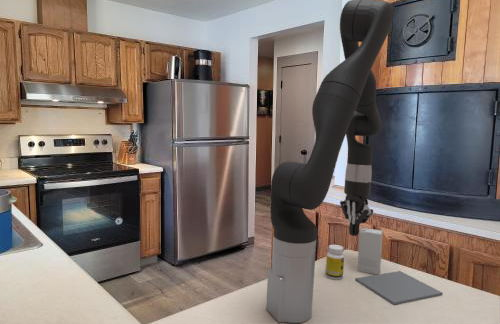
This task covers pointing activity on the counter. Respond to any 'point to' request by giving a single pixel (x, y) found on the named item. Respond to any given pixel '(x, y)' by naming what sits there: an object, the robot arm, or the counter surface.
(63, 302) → the counter surface
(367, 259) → the skincare box
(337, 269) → the supplement bottle
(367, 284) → the slate mat
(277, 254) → the robot arm
